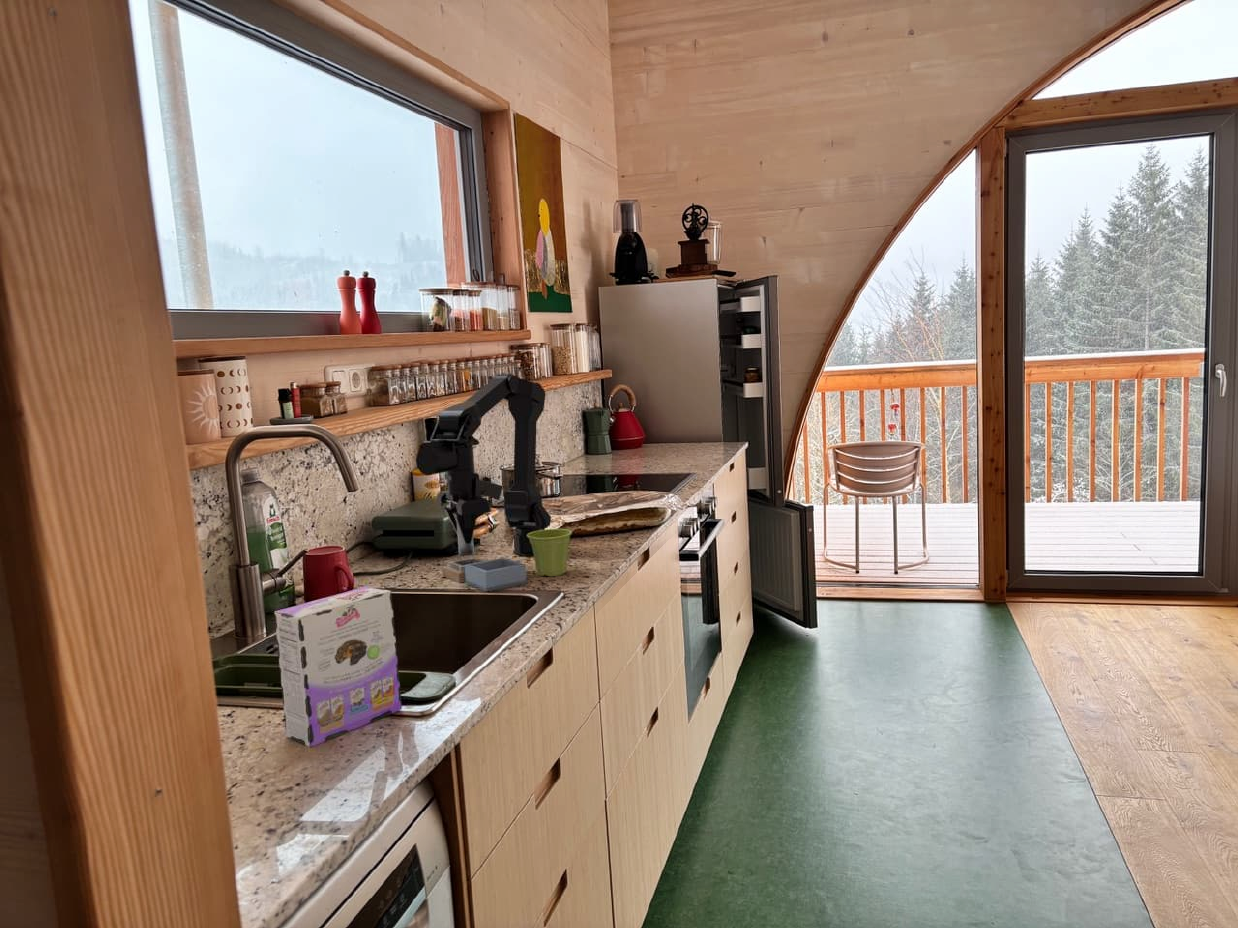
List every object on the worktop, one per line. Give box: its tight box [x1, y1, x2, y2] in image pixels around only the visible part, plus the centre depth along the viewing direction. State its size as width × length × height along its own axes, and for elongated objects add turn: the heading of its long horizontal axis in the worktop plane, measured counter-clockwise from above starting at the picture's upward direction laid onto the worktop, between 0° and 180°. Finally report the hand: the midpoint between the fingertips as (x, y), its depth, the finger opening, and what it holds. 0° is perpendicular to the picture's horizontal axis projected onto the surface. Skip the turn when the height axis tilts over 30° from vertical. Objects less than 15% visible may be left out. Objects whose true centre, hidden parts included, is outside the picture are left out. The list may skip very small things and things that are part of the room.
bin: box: [465, 557, 527, 592], centre depth 187 cm, size 9×9×4 cm
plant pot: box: [527, 528, 573, 577], centre depth 193 cm, size 9×9×9 cm
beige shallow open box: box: [441, 557, 484, 583], centre depth 195 cm, size 8×8×3 cm
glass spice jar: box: [455, 512, 475, 557], centre depth 194 cm, size 4×4×9 cm
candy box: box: [274, 585, 403, 748], centre depth 117 cm, size 14×6×16 cm, turn 140°
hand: (465, 542), depth 194 cm, fingers closed on glass spice jar, 3 cm apart
